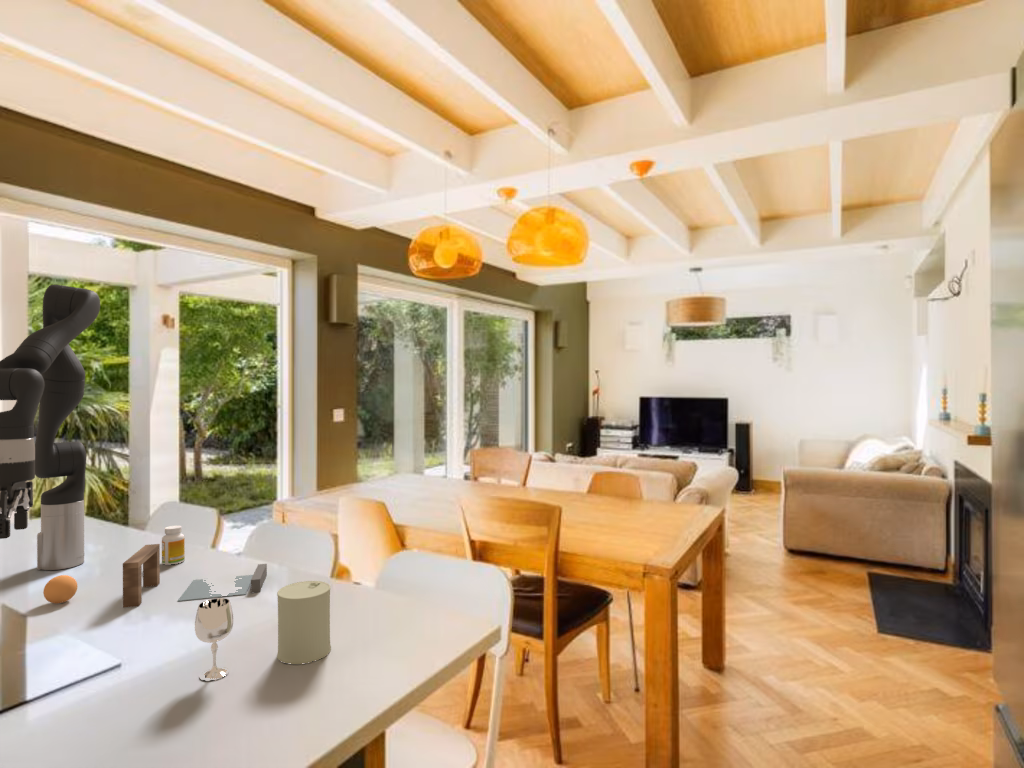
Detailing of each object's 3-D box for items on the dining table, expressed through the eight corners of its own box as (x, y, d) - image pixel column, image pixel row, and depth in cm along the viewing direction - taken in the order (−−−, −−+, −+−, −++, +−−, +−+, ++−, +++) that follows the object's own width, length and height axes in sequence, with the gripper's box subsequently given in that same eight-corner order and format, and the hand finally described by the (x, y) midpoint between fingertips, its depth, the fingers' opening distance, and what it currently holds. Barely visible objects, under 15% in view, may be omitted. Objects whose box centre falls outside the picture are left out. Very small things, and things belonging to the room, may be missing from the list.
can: (341, 645, 106) (341, 581, 106) (308, 668, 97) (308, 598, 97) (300, 638, 109) (300, 575, 109) (265, 660, 100) (265, 592, 100)
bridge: (122, 607, 124) (122, 563, 124) (145, 584, 138) (145, 544, 138) (138, 606, 125) (138, 562, 125) (159, 583, 139) (159, 543, 139)
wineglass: (194, 687, 92) (194, 612, 92) (195, 671, 97) (195, 600, 97) (234, 678, 94) (233, 606, 94) (233, 663, 99) (232, 594, 99)
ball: (37, 609, 123) (37, 581, 123) (51, 599, 129) (51, 572, 129) (70, 606, 125) (70, 578, 125) (82, 596, 131) (82, 570, 131)
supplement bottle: (189, 559, 158) (188, 524, 158) (175, 565, 153) (175, 529, 153) (171, 559, 159) (170, 524, 159) (157, 565, 153) (156, 529, 153)
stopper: (250, 592, 133) (250, 580, 133) (258, 576, 144) (258, 564, 144) (260, 591, 133) (260, 579, 133) (266, 575, 145) (266, 563, 145)
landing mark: (177, 601, 128) (177, 600, 128) (193, 580, 141) (193, 580, 141) (245, 594, 132) (245, 593, 132) (254, 575, 145) (254, 574, 145)
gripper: (19, 462, 119) (19, 540, 119) (46, 455, 132) (46, 524, 132) (-27, 464, 116) (-27, 543, 116) (6, 456, 129) (5, 527, 129)
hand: (12, 533), depth 124 cm, fingers open, 8 cm apart
